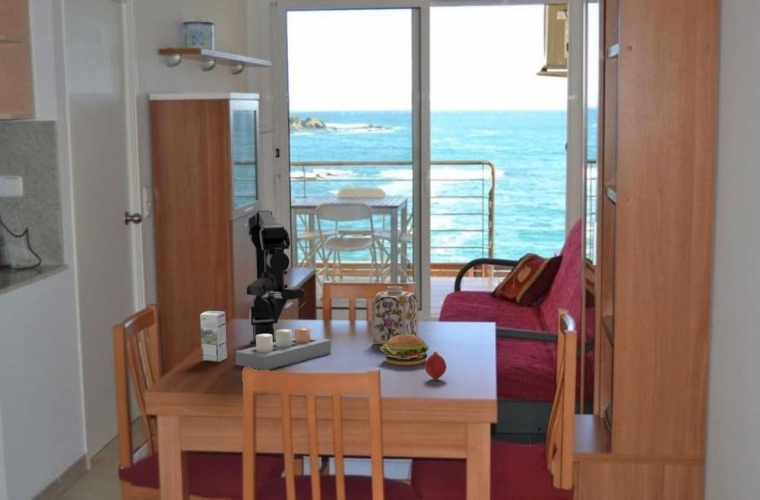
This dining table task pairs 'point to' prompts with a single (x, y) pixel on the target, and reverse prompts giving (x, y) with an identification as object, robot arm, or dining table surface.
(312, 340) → the grey holder tray
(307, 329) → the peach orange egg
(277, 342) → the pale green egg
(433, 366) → the onion
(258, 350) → the cream rounded tapered piece
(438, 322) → the dining table surface
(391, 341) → the food
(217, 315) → the syrup box
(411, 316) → the decorative jar
